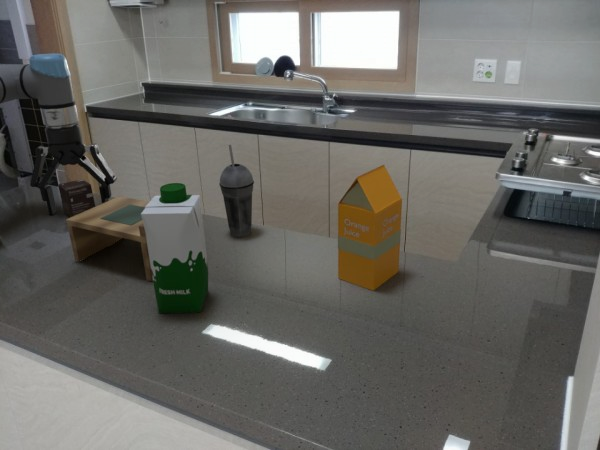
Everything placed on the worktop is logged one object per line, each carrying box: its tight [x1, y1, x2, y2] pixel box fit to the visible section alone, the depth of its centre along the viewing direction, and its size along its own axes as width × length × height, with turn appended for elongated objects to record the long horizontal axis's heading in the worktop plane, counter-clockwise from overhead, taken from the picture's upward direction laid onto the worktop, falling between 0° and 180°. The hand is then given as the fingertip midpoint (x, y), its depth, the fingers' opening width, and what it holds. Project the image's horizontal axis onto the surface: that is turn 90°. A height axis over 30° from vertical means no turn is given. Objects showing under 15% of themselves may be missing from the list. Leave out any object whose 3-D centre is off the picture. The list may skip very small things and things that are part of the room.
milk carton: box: [141, 182, 209, 314], centre depth 88 cm, size 9×9×20 cm
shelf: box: [65, 195, 153, 282], centre depth 106 cm, size 20×14×11 cm
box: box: [58, 179, 96, 218], centre depth 130 cm, size 6×6×7 cm
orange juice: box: [337, 164, 403, 291], centre depth 94 cm, size 8×9×20 cm
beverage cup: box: [218, 144, 255, 238], centre depth 113 cm, size 7×7×20 cm
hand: (80, 212), depth 131 cm, fingers open, 12 cm apart
